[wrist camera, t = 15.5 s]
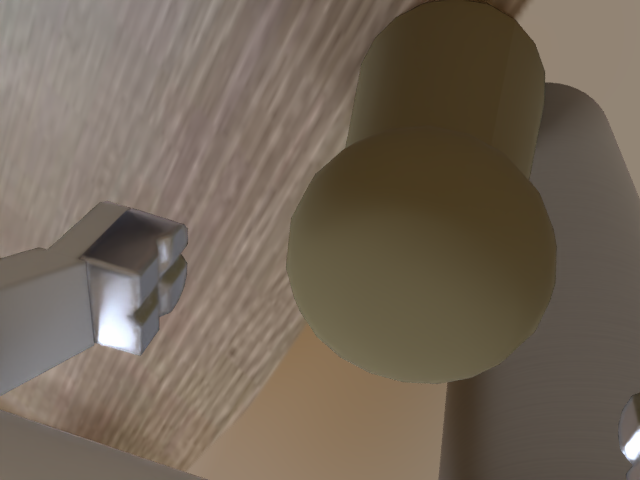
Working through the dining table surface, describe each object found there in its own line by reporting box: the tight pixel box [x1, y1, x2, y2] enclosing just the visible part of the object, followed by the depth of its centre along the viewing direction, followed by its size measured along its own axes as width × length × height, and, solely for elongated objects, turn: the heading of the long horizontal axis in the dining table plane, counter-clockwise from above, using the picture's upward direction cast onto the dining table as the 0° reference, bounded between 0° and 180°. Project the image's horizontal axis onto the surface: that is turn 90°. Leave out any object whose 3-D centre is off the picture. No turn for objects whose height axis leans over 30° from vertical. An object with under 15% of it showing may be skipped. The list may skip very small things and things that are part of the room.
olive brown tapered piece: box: [286, 0, 557, 384], centre depth 14 cm, size 6×6×11 cm
